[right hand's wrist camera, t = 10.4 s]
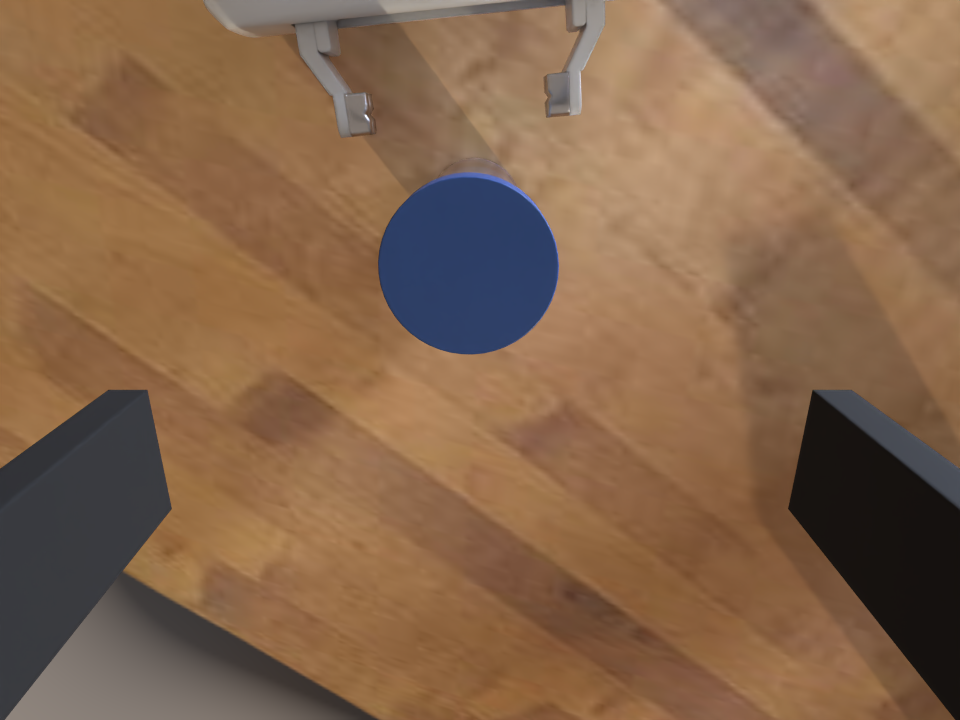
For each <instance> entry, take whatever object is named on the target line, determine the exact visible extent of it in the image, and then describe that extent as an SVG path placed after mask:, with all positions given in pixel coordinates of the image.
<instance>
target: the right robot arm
mask: <svg viewBox="0 0 960 720" xmlns="http://www.w3.org/2000/svg"><path fill="white" fill-rule="evenodd" d="M171 509H172V508H171V503H170V498H169V493H168V488H167V483H166V479H165V474H164V469H163V464H162V459H161V454H160V449H159V444H158V440H157V435H156V430H155V425H154V420H153V415H152V410H151V405H150V401H149V396H148V391H147V390H108V391H106V392H105V393H104V394H102V395H101V396H100V397H98V398H97V399H95V400H94V401H93V402H91V403H90V404H89V405H87V406H86V407H84V408H83V409H82V410H80V411H79V412H78V413H76V414H75V415H73V416H72V417H71V418H69V419H68V420H67V421H65V422H64V423H62V424H61V425H60V426H58V427H57V428H56V429H54V430H53V431H51V432H50V433H49V434H47V435H46V436H45V437H43V438H42V439H40V440H39V441H38V442H36V443H35V444H34V445H32V446H31V447H29V448H28V449H27V450H25V451H24V452H23V453H21V454H20V455H18V456H17V457H16V458H14V459H13V460H12V461H10V462H9V463H7V464H6V465H5V466H3V467H2V468H1V469H0V720H5V719H6V717H7V716H8V715H9V714H10V712H11V711H12V710H13V709H14V707H15V706H16V705H17V703H18V702H19V701H20V700H21V698H22V697H23V696H24V695H25V693H26V692H27V691H28V690H29V688H30V687H31V686H32V684H33V683H34V682H35V681H36V679H37V678H38V677H39V676H40V674H41V673H42V672H43V671H44V669H45V668H46V667H47V666H48V664H49V663H50V662H51V661H52V659H53V658H54V657H55V655H56V654H57V653H58V652H59V650H60V649H61V648H62V647H63V645H64V644H65V643H66V642H67V640H68V639H69V638H70V637H71V635H72V634H73V633H74V631H75V630H76V629H77V628H78V626H79V625H80V624H81V623H82V621H83V620H84V619H85V618H86V616H87V615H88V614H89V613H90V611H91V610H92V609H93V607H94V606H95V605H96V604H97V602H98V601H99V600H100V599H101V597H102V596H103V595H104V594H105V592H106V591H107V590H108V589H109V587H110V586H111V585H112V584H113V582H114V581H115V580H116V578H117V577H118V576H119V575H120V573H121V572H122V571H123V570H124V568H125V567H126V566H127V565H128V563H129V562H130V561H131V560H132V558H133V557H134V556H135V555H136V553H137V552H138V551H139V549H140V548H141V547H142V546H143V544H144V543H145V542H146V541H147V539H148V538H149V537H150V536H151V534H152V533H153V532H154V531H155V529H156V528H157V527H158V525H159V524H160V523H161V522H162V520H163V519H164V518H165V517H166V515H167V514H168V513H169V512H170V510H171ZM788 509H789V510H790V512H791V513H792V514H793V515H794V517H795V518H796V519H797V520H798V522H799V523H800V524H801V525H802V527H803V528H804V529H805V531H806V532H807V533H808V534H809V536H810V537H811V538H812V539H813V541H814V542H815V543H816V544H817V546H818V547H819V548H820V549H821V551H822V552H823V553H824V555H825V556H826V557H827V558H828V560H829V561H830V562H831V563H832V565H833V566H834V567H835V568H836V570H837V571H838V572H839V573H840V575H841V576H842V577H843V578H844V580H845V581H846V582H847V584H848V585H849V586H850V587H851V589H852V590H853V591H854V592H855V594H856V595H857V596H858V597H859V599H860V600H861V601H862V602H863V604H864V605H865V606H866V608H867V609H868V610H869V611H870V613H871V614H872V615H873V616H874V618H875V619H876V620H877V621H878V623H879V624H880V625H881V626H882V628H883V629H884V630H885V632H886V633H887V634H888V635H889V637H890V638H891V639H892V640H893V642H894V643H895V644H896V645H897V647H898V648H899V649H900V650H901V652H902V653H903V654H904V655H905V657H906V658H907V659H908V661H909V662H910V663H911V664H912V666H913V667H914V668H915V669H916V671H917V672H918V673H919V674H920V676H921V677H922V678H923V679H924V681H925V682H926V683H927V685H928V686H929V687H930V688H931V690H932V691H933V692H934V693H935V695H936V696H937V697H938V698H939V700H940V701H941V702H942V703H943V705H944V706H945V707H946V709H947V710H948V711H949V712H950V714H951V715H952V716H953V717H954V719H955V720H960V469H959V468H958V467H957V466H955V465H954V464H953V463H951V462H950V461H948V460H947V459H946V458H944V457H943V456H942V455H940V454H939V453H937V452H936V451H935V450H933V449H932V448H931V447H929V446H928V445H926V444H925V443H924V442H922V441H921V440H920V439H918V438H917V437H915V436H914V435H913V434H911V433H910V432H909V431H907V430H906V429H904V428H903V427H902V426H900V425H899V424H898V423H896V422H895V421H893V420H892V419H891V418H889V417H888V416H887V415H885V414H884V413H882V412H881V411H880V410H878V409H877V408H876V407H874V406H873V405H871V404H870V403H869V402H867V401H866V400H865V399H863V398H862V397H860V396H859V395H858V394H856V393H855V392H854V391H852V390H813V391H812V396H811V401H810V405H809V410H808V415H807V420H806V425H805V430H804V435H803V440H802V444H801V449H800V454H799V459H798V464H797V469H796V474H795V479H794V483H793V488H792V493H791V498H790V503H789V508H788Z"/></svg>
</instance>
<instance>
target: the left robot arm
mask: <svg viewBox="0 0 960 720" xmlns="http://www.w3.org/2000/svg"><path fill="white" fill-rule="evenodd" d="M605 1H613V0H203V2H204V4H205V6H206V8H207V10H208V11H209V12H210V13H211V14H212V15H213V16H214V18H215V19H217V20H218V21H219V22H220V23H221V24H222V25H223V26H224V27H225V28H226V29H228V30H230V31H232V32H234V33H237V34H240V35H243V36H246V37H266V36H276V35H285V34H295V33H296V36H297V41H298V47H299V53H300V56H301V57H302V58H303V60H304V61H305V62H306V64H307V65H308V67H309V68H310V69H311V71H312V72H313V73H314V75H315V76H316V77H317V79H318V80H319V81H320V83H321V84H322V86H323V87H324V88H325V90H326V91H327V92H328V94H329V95H331V96H333V101H334V107H335V113H336V119H337V126H338V131H339V134H340V137H341V138H344V137H356V136H365V135H373V134H376V122H375V119H374V117H373V116H372V115H371V114H372V112H373V110H374V107H373V101H372V94H368V93H353V92H352V91H351V89H350V88H349V86H348V85H347V83H346V82H345V80H344V79H343V78H342V76H341V75H340V73H339V72H338V70H337V69H336V67H335V66H334V65H333V63H332V62H331V60H330V59H329V56H331V57H335V56H339V55H340V54H341V50H340V43H339V36H338V29H343V28H353V27H362V26H372V25H382V24H391V23H401V22H411V21H420V20H430V19H440V18H449V17H459V16H469V15H478V14H488V13H498V12H507V11H517V10H526V9H536V8H546V7H555V6H565V10H566V29H567V31H568V32H577V31H578V30H579V32H580V33H579V35H578V37H577V39H576V41H575V44H574V46H573V48H572V50H571V52H570V55H569V57H568V59H567V61H566V63H565V66H564V68H563V70H562V72H561V73H555V74H547V75H546V76H544V93H545V94H546V95H547V97H548V98H547V100H546V101H545V113H546V117H560V116H570V115H580V114H581V75H580V71H582V70H583V69H584V67H585V65H586V63H587V61H588V59H589V57H590V55H591V53H592V51H593V48H594V46H595V44H596V42H597V40H598V38H599V36H600V34H601V32H602V30H603V28H604V25H605Z"/></svg>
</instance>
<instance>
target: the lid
mask: <svg viewBox="0 0 960 720" xmlns="http://www.w3.org/2000/svg"><path fill="white" fill-rule="evenodd" d="M378 268H379V278H380V284H381V288H382V291H383V294H384V297H385V299H386V301H387V304H388V306H389V308H390V309H391V311H392V312H393V314H394V316H395V317H396V318H397V320H398V321H399V322H400V323H401V324H402V326H404V327H405V328H406V329H407V330H408V331H409V332H410V333H411V334H412V335H414V336H415V337H416V338H418V339H419V340H421V341H423V342H424V343H426V344H428V345H430V346H432V347H435V348H437V349H440V350H443V351H447V352H451V353H458V354H481V353H487V352H491V351H495V350H498V349H501V348H504V347H506V346H508V345H510V344H512V343H514V342H516V341H517V340H519V339H520V338H522V337H523V336H525V335H526V334H527V333H528V332H529V331H530V330H531V329H533V328H534V326H535V325H536V324H537V323H538V322H539V321H540V320H541V318H542V317H543V315H544V314H545V312H546V311H547V309H548V307H549V305H550V303H551V301H552V298H553V295H554V292H555V290H556V285H557V280H558V270H559V262H558V252H557V247H556V242H555V239H554V237H553V234H552V231H551V229H550V227H549V225H548V223H547V221H546V219H545V218H544V216H543V215H542V213H541V212H540V210H539V209H538V207H537V206H536V204H535V203H534V202H533V201H532V200H531V199H530V198H529V197H528V196H527V195H526V194H525V193H524V192H523V191H521V190H520V189H519V188H517V187H516V186H514V185H513V184H511V183H509V182H507V181H505V180H503V179H501V178H498V177H495V176H492V175H488V174H482V173H473V172H464V173H455V174H450V175H446V176H442V177H440V178H438V179H435V180H433V181H431V182H429V183H427V184H425V185H424V186H422V187H421V188H419V189H418V190H417V191H416V192H414V193H413V194H412V195H411V196H410V197H409V198H408V199H407V200H406V201H405V202H404V203H403V204H402V205H401V206H400V207H399V209H398V210H397V211H396V213H395V214H394V215H393V217H392V218H391V220H390V222H389V224H388V226H387V227H386V230H385V233H384V235H383V238H382V241H381V246H380V250H379V260H378Z"/></svg>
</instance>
